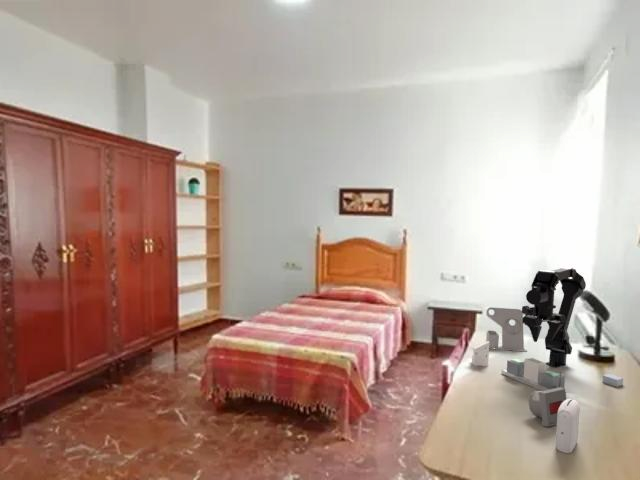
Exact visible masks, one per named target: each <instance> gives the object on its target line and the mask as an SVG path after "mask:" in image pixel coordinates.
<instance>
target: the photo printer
mask: <svg viewBox="0 0 640 480" xmlns="http://www.w3.org/2000/svg"><path fill="white" fill-rule="evenodd" d="M579 424H580V404H579V403H578V401H577V400H576V399H571V398H566V400H565V401H563V402H562V404H561V405H560V407H559V409H558V414H557V424H556V431H555V432H556V433H555V449H556V450H557V451H559V452H561V453H564V454H570V453H572V452H573V450H574V449H575V447H576V445H577V443H578V437H579V436H578V435H579Z"/></svg>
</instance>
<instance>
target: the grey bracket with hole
mask: <svg viewBox="0 0 640 480" xmlns="http://www.w3.org/2000/svg"><path fill="white" fill-rule="evenodd" d="M490 310H491V311H493V314H490V313H489V311H490ZM486 316H487V318H488V319H490V320H491V321H492V322H494V323H496V324H497V325H499V327H501V342H499V340H500V335H499V333H498V332H497V331H496V330H495V331H494V330H486V335H485V336H486V339H485V340H486V341H485V342H487V341H489V348H495V349H494V350H498V349H504V350H503V351H509V350H513V351H512V352H521V353H522V352H523V353H524V352H525V353H526V352H528V350H527V348H526V347H525V346H524V344H525V341H524V336H525V335H524V323H522V319H523V317H524V314H523V313H522V309H518V308H506V307H488V309H486ZM510 321H514V322H515V323H514V325H512V324H510Z"/></svg>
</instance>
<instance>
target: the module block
mask: <svg viewBox="0 0 640 480" xmlns="http://www.w3.org/2000/svg"><path fill="white" fill-rule="evenodd" d="M524 361H525V364H524V378H527V379H529V380H532V381H534V382H536V383H540V382H541V373H545V372H547V369H546V368H547V364H546V363H547V362H545V361H542V360H539V359H536V358H533V357H530V358H529V357H528V358H524Z"/></svg>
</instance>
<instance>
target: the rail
mask: <svg viewBox="0 0 640 480" xmlns="http://www.w3.org/2000/svg"><path fill="white" fill-rule="evenodd" d="M524 364H525V359H520V358H511V359H507V362H506V368H505V369H501V374H502V375H504V376H507V377H508V378H511V379H513V380H515V381H517V382H520V383H522V384H524V385H525V384H526V385H527V386H530V387H531V388H534V389H537V390H538V391H545V390H549V389H554V388H558V387H559V383H560V387H561V388H564V389H565V390H566V387H565V380H566V379H565V378H566V375H565V374H562V373H561V374H560V372H556V371H553V370H552V371H551V370H550V371H546V372H545V373H541V382H540V383H536V382H534V381H532V380H529V379H527V378H524Z"/></svg>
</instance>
